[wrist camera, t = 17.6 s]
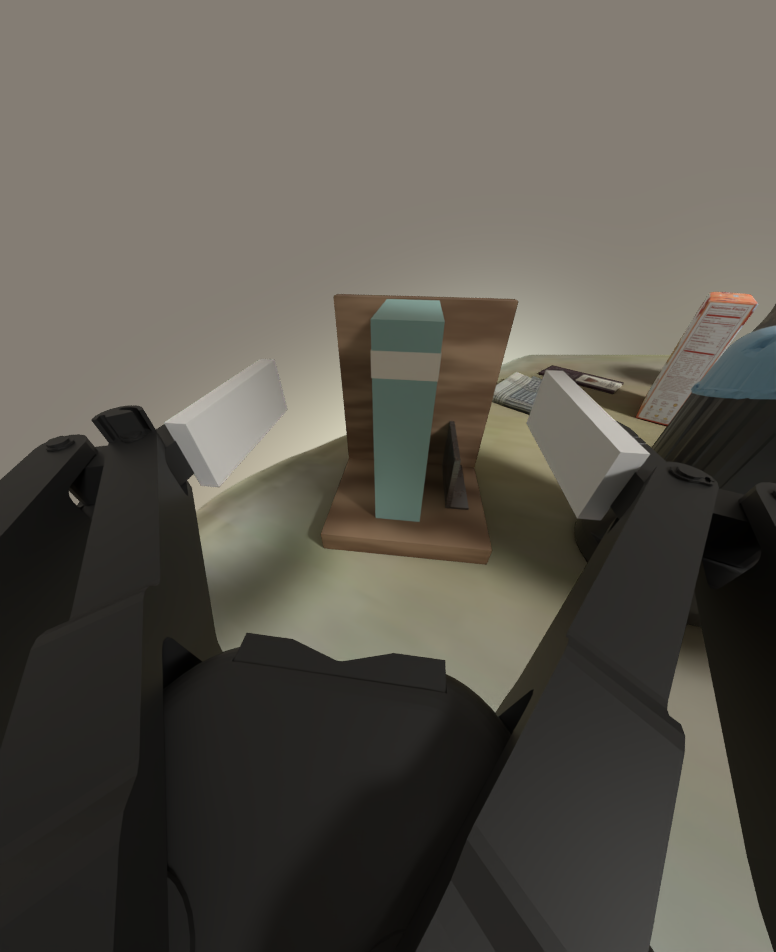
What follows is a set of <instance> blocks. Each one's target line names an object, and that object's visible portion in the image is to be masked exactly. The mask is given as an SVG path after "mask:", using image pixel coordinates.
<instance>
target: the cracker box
mask: <svg viewBox="0 0 776 952" xmlns="http://www.w3.org/2000/svg"><path fill="white" fill-rule="evenodd" d="M757 306H758V303H757V302H756V300H755V299H754V298H753V297H752V295H750V294H737V293H728V292H710V293H709V294H708V296H707V297H706V299H705V301H704V302H703V304H702V306H701V307H700V308H699V310H698V312H697V313H696V315H695V316H694V318H693V320H692V321H691V323H690V325H689V326H688V328H687V330H686V331H685V333H684V334H683V336H682V338H681V339H680V341H679V342H678V344H677V346H676V347H675V349H674V351H673V353H672V354H671V356H670V357H669V359H668V360H667V362H666V364H665V365H664V367H663V369H662V370H661V372H660V373H659V375H658V377H657V378H656V380H655V382H654V383H653V385H652V387H651V388H650V390H649V392H648V393H647V395H646V397H645V399H644V401H643V403H642V405H641V407H640V409H639V412H638V414H637V416H636V418H639V419H643V420H647V421H651V422H655V423H658V424H662V425H666V426H668V424H669V423H670V422H671V420H672V419H673V418H674V416H675V415H676V413H677V412H678V411H679V409H680V408H681V407H682V405H683V404H684V403H685V401H686V400H687V398H688V397H689V396H690V394H691V393H692V392H691V389H692V387H693V386H694V385H695V384H696V383H697V382H699V381H701V380H702V378H703V377H704V376H705V375H706V374H707V372H708V371H709V370H710V369H711V368H712V366H713V365H714V364H715V363H716V362H717V360H718V359H719V358H720V356H721V355H722V353H723V352H724V351H725V349H726V348H727V347H728V345H729V344H730V343H731V341H732V340H733V338H734V337H735V336H736V335H737V333H738V332H739V330H740V329H741V328H742V326H743V325H744V324H745V322H746V321H747V320H748V318H749V317H750V315H751V314H752V313H753V311H754V310H755V309H756V307H757Z"/></svg>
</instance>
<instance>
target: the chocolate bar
mask: <svg viewBox="0 0 776 952" xmlns="http://www.w3.org/2000/svg"><path fill="white" fill-rule="evenodd" d="M546 370H553V371H564V372H565V373H566V374H567V375H568V376H569V377H570V378H571V379H572V380H573V381H574V382H575V383H576V384H577V385H580V386H584V387H588V388H592V389H596V390H599V391H603V392H607V393H611V394H613V393H614V392H615V391H616V390H617V389H618V388H620V387H621V386H622V385H623V382H619V381H615V380H611V379H607V378H603V377H599V376H594V375H590V374H586V373H582V372H578V371H574V370H570V369H565V368H561V367H557V366H553V365H552V366H550V367H548V368H546V369H545V370H543V371H541V372H539V375H543V376H544V374H545V371H546Z"/></svg>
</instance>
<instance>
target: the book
mask: <svg viewBox="0 0 776 952" xmlns="http://www.w3.org/2000/svg"><path fill="white" fill-rule="evenodd" d="M444 324H445V320H444V316H443V312H442V308H441V304H440V300H406V299H387V300H386V301H385V302H384V303H383V304H382V306H381V307H380V308H379V309H378V311H377V312H376V313H375V314H374V316H373V317H372V318H371V378H372V398H373V437H374V476H375V515H376V518H382V519H393V520H404V521H415V522H420V514H421V506H422V498H423V490H424V482H425V475H426V467H427V459H428V451H429V443H430V435H431V427H432V419H433V411H434V403H435V396H436V388H437V382H438V378H439V370H440V362H441V354H442V353H441V348H442V340H443V332H444Z"/></svg>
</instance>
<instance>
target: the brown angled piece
mask: <svg viewBox="0 0 776 952" xmlns="http://www.w3.org/2000/svg"><path fill="white" fill-rule="evenodd" d="M387 299H406V300H440V304H441V308H442V312H443V316H444V320H445V324H444V332H443V340H442V348H441V353H442V354H441V362H440V370H439V378H438V382H437V388H436V396H435V403H434V411H433V419H432V427H431V435H430V443H429V451H428V459H427V467H426V475H425V482H424V490H423V498H422V506H421V514H420V522H415V521H404V520H393V519H382V518H376V515H375V476H374V437H373V398H372V378H371V318H372V317H373V316H374V314H375V313H376V312H377V311H378V309H379V308H380V307H381V306H382V304H383V303H384V302H385V301H386V300H387ZM517 305H518V301H517V300H515V299H494V298H457V297H422V296H421V297H420V296H387V295H386V296H385V295H351V294H337V295H334V307H335V317H336V327H337V337H338V348H339V359H340V368H341V379H342V389H343V400H344V410H345V421H346V431H347V442H348V452H349V460H348V462H347V465H346V468H345V470H344V473H343V476H342V478H341V481H340V484H339V487H338V489H337V492H336V495H335V497H334V500H333V503H332V505H331V508H330V511H329V513H328V516H327V519H326V521H325V524H324V527H323V529H322V532H321V538H322V542H323V546H324V548H328V549H338V550H348V551H358V552H367V553H377V554H387V555H397V556H407V557H417V558H427V559H437V560H447V561H457V562H466V563H476V564H487V562H488V560H489V557H490V555H491V552H492V547H491V543H490V538H489V533H488V529H487V524H486V519H485V515H484V510H483V506H482V501H481V496H480V492H479V487H478V482H477V478H476V473H475V469H474V467H475V463H476V459H477V455H478V452H479V448H480V444H481V440H482V437H483V433H484V429H485V425H486V422H487V418H488V414H489V410H490V407H491V403H492V399H493V395H494V392H495V388H496V384H497V380H498V377H499V373H500V369H501V365H502V362H503V358H504V354H505V350H506V346H507V342H508V339H509V335H510V332H511V328H512V324H513V320H514V316H515V312H516V309H517ZM450 421H455V427H456V434H457V440H458V446H459V453H460V459H461V462H460V465H462V470H463V476H464V482H465V488H466V494H467V501H468V507H469V509H468V510H462V509H450V508H445V499H444V484H443V470H442V463H443V457H444V451H445V446H446V440H447V434H448V428H449V422H450Z"/></svg>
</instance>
